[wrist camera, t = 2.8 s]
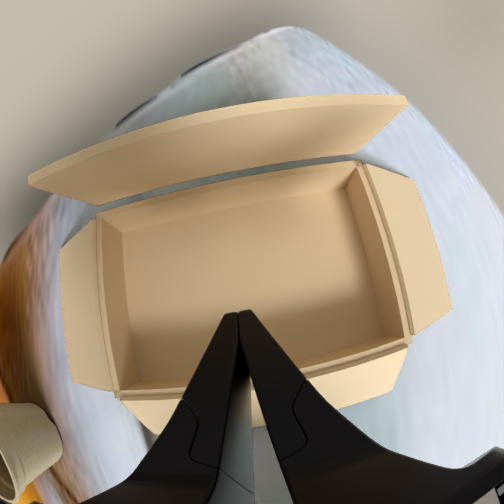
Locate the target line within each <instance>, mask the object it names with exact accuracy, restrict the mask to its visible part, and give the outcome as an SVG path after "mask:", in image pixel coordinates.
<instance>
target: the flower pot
mask: <svg viewBox="0 0 504 504" xmlns="http://www.w3.org/2000/svg"><path fill="white" fill-rule="evenodd" d="M62 454H63V446H62V441H61V438H60V435H59V433H58V430H57V428H56V426H55V425H54V424H53V423H52V422H51V421H50V420H49V419H48V417H47V415H46V413H45V411H43V410H42V409H41V408H40V407H38V406H37V405H35V404H32V403H0V497H1V498H2V499H4V500H5V501H7V502H9V503H16V502H18V501H19V499H20V494H21V493H23V492H24V490H25V488H26V486H27V485H28V484H29V483H30V482H32V481H33V480H34V479H35V478H37V477H38V476H39V475H40V474H41V473H43V472H44V471H45V470H46V469H48V468H49V467H50V466H52V465H53V464H54V463H55V462H57V461H58V460H59V459H60V457H61V456H62Z"/></svg>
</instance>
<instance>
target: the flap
mask: <svg viewBox="0 0 504 504" xmlns="http://www.w3.org/2000/svg"><path fill="white" fill-rule="evenodd" d="M407 106H408V103H407V101H406V98H405V96H401V95H380V94H338V95H317V96H303V97H292V98H282V99H273V100H266V101H258V102H252V103H245V104H239V105H234V106H228V107H223V108H218V109H213V110H208V111H203V112H199V113H195V114H190V115H186V116H182V117H178V118H175V119H171V120H167V121H164V122H160V123H157V124H153V125H150V126H147V127H143V128H140V129H137V130H134V131H131V132H128V133H125V134H122V135H119V136H116V137H114V138H111V139H108V140H106V141H103V142H100V143H98V144H95V145H93V146H90V147H88V148H85V149H83V150H81V151H78V152H76V153H74V154H71V155H69V156H67V157H65V158H62V159H60V160H58V161H56V162H54V163H52V164H50V165H48V166H46V167H44V168H42V169H40V170H38V171H36V172H34V173H32V174H30V175H29V176H28V186H31V187H35V188H38V189H41V190H45V191H48V192H52V193H55V194H59V195H62V196H66V197H69V198H73V199H76V200H79V201H83V202H86V203H90V204H93V205H97V206H99V205H102V204H105V203H109V202H112V201H115V200H119V199H122V198H125V197H129V196H132V195H136V194H139V193H143V192H147V191H150V190H154V189H158V188H162V187H166V186H170V185H174V184H178V183H182V182H186V181H191V180H195V179H199V178H204V177H208V176H213V175H218V174H223V173H227V172H232V171H238V170H243V169H248V168H254V167H259V166H265V165H271V164H277V163H284V162H290V161H297V160H304V159H312V158H319V157H327V156H336V155H346V154H355V153H356V152H357V151H358V150H360V149H361V148H362V147H363V146H364V145H365V144H366V143H367V142H368V141H370V140H371V139H372V138H373V137H374V136H375V135H376V134H377V133H378V132H380V131H381V130H382V129H383V128H384V127H385V126H386V125H387V124H388V123H390V122H391V121H392V120H393V119H394V118H395V117H396V116H397V115H398V114H400V113H401V112H402V111H403V110H404V109H405V108H406V107H407Z"/></svg>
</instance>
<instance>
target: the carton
mask: <svg viewBox="0 0 504 504" xmlns="http://www.w3.org/2000/svg"><path fill="white" fill-rule="evenodd" d="M60 292H61V307H62V319H63V328H64V336H65V343H66V350H67V356H68V362H69V368H70V373H71V378H72V382H75V383H78V384H82V385H86V386H89V387H93V388H97V389H101V390H106V391H114V396H115V398H120V401H121V402H122V403H123V404H124V405H125V406H126V408H127V409H128V410H129V411H130V412H131V413H132V414H133V415H134V416H135V417H137V418H138V419H139V420H140V421H141V422H142V423H143V424H144V425H145V426H146V427H147V428H148V429H149V430H150V431H151V432H153V433H154V434H161V432H162V431H163V429H164V428H165V426H166V425H167V423H168V421H169V420H170V418H171V416H172V414H173V412H174V411H175V409H176V407H177V405H178V403H179V401H180V399H182V395H183V393H184V392H185V390H186V388H187V386H188V384H189V382H190V380H191V378H192V376H193V374H194V372H195V370H196V368H197V366H198V364H199V362H200V360H201V358H202V356H203V355H204V353H205V351H206V349H207V347H208V345H209V343H210V341H211V339H212V337H213V335H214V333H215V331H216V329H217V327H218V325H219V323H220V321H221V319H222V317H223V315H224V314H226V313H230V312H237V313H238V312H239V311H241V310H247V309H251V310H252V311H253V312H254V313H255V315H256V316H257V317H258V318H259V320H260V321H261V322H262V324H263V325H264V326H265V327H266V329H267V330H268V331H269V332H270V334H271V335H272V336H273V337H274V339H275V340H276V341H277V342H278V344H279V345H280V346H281V347H282V349H283V350H284V351H285V352H286V354H287V355H288V356H289V357H290V359H291V360H292V361H293V362H294V363H295V365H296V366H297V367H298V368H299V370H300V371H301V372H302V373H303V374H304V376H305V377H306V379H307V380H309V381H310V383H311V384H312V385H313V386H314V387H315V389H316V390H317V391H318V392H319V393H320V394H321V395H322V396H323V397H324V398H325V399H326V401H328V402H329V403H330V404H331V405H332V406H333V407H334V408H335V409H340V408H343V407H347V406H350V405H353V404H356V403H359V402H362V401H365V400H368V399H371V398H374V397H377V396H379V395H382V394H385V393H387V392H390V391H392V388H393V386H394V384H395V381H396V379H397V376H398V374H399V371H400V369H401V366H402V364H403V361H404V358H405V356H406V353H407V350H408V346H407V345H409V344H411V343H413V342H412V336H411V335H415V334H417V333H419V332H420V331H422V330H423V329H425V328H426V327H428V326H429V325H431V324H432V323H434V322H435V321H437V320H438V319H440V318H441V317H443V316H444V315H446V314H447V313H448V312H450V311H451V310H452V305H451V300H450V295H449V291H448V286H447V282H446V277H445V273H444V269H443V265H442V261H441V258H440V254H439V251H438V247H437V244H436V240H435V237H434V234H433V231H432V228H431V225H430V222H429V219H428V216H427V213H426V210H425V208H424V205H423V202H422V200H421V197H420V195H419V192H418V189H417V187H416V185H415V182H414V180H413V179H410V178H408V177H405V176H402V175H399V174H396V173H393V172H391V171H388V170H385V169H382V168H379V167H375V166H372V165H369V164H364V165H363V164H362V162H361V160H354V161H345V162H336V163H328V164H320V165H313V166H305V167H299V168H292V169H286V170H279V171H273V172H267V173H262V174H256V175H251V176H245V177H240V178H235V179H230V180H225V181H220V182H215V183H210V184H206V185H201V186H197V187H192V188H188V189H184V190H180V191H175V192H171V193H167V194H163V195H159V196H155V197H152V198H148V199H144V200H140V201H137V202H133V203H129V204H126V205H122V206H119V207H116V208H112V209H109V210H105V211H102V212H99V213H96V219H92V220H90V221H89V222H88V223H87V224H86V225H85V226H84V227H83V228H82V229H81V230H80V231H79V232H78V233H77V234H76V235H74V236H73V237H72V238H71V239H70V240H69V241H68V242H67V243H66V244H65V245H64V246H63V247H62V248H61V249H60ZM250 379H251V377H250ZM251 409H252V428H254V427H260V426H266V424H265V421H264V418H263V415H262V412H261V409H260V405H259V402H258V399H257V396H256V393H255V390H254V387H253V383H252V380H251Z"/></svg>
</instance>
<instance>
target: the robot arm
mask: <svg viewBox="0 0 504 504" xmlns="http://www.w3.org/2000/svg"><path fill="white" fill-rule="evenodd" d="M250 377H251V379H250ZM251 380H252V383H253V387H254V390H255V393H256V396H257V399H258V402H259V405H260V409H261V412H262V415H263V418H264V421H265V424H266V427H267V430H268V433H269V436H270V439H271V442H272V445H273V448H274V450H275V453H276V456H277V459H278V462H279V465H280V468H281V470H282V473H283V476H284V479H285V482H286V484H287V487H288V490H289V493H290V495H291V498H292V501H293V504H504V449H502V448H499V447H494V448H492V449H490V450H489V451H487V452H486V453H484V454H483V455H481V456H480V457H478V458H477V459H475V460H474V461H472V462H471V463H469V464H467V465H466V466H464V467H463V468H458V469H451V468H445V467H441V466H437V465H434V464H430V463H427V462H424V461H420V460H417V459H414V458H411V457H408V456H405V455H402V454H399V453H396V452H393V451H391V450H388V449H386V448H385V447H383V446H381V445H379V444H378V443H376V442H375V441H374V440H372V439H371V438H370V437H368V436H367V435H366V434H365V433H363V432H362V431H361V430H360V429H358V428H357V427H356V426H355V425H354V424H352V423H351V422H350V421H349V420H348V419H346V418H345V417H344V416H343V415H342V414H341V413H339V412H338V411H337V410H336V409H335V408H334V407H333V406H332V405H331V404H330V403H329V402H328V401H326V399H325V398H324V397H323V396H322V395H321V394H320V393H319V392H318V391H317V390H316V389H315V387H314V386H313V385H312V384H311V383H310V381H309V380H307V379H306V377H305V376H304V374H303V373H302V372H301V371H300V370H299V368H298V367H297V366H296V365H295V363H294V362H293V361H292V360H291V359H290V357H289V356H288V355H287V354H286V352H285V351H284V350H283V349H282V347H281V346H280V345H279V344H278V342H277V341H276V340H275V339H274V337H273V336H272V335H271V334H270V332H269V331H268V330H267V329H266V327H265V326H264V325H263V324H262V322H261V321H260V320H259V318H258V317H257V316H256V315H255V313H254V312H253V311H252V310H251V309H247V310H241V311H239V312H238V313H237V312H230V313H226V314H224V315H223V317H222V319H221V321H220V323H219V325H218V327H217V329H216V331H215V333H214V335H213V337H212V339H211V341H210V343H209V345H208V347H207V349H206V351H205V353H204V355H203V356H202V358H201V360H200V362H199V364H198V366H197V368H196V370H195V372H194V374H193V376H192V378H191V380H190V382H189V384H188V386H187V388H186V390H185V392H184V393H183V395H182V399H180V401H179V403H178V405H177V407H176V409H175V411H174V412H173V414H172V416H171V418H170V420H169V421H168V423H167V425H166V426H165V428H164V429H163V431H162V432H161V434H160V435H159V437H158V438H157V440H156V441H155V443H154V444H153V445H152V447H151V448H150V450H149V451H148V453H147V454H146V455H145V457H144V458H143V460H142V461H141V462H140V464H139V465H138V467H137V468H136V469H135V470H134V472H133V473H132V474H131V475H130V476H129V477H128V478H127V479H125V480H124V481H123V482H121V483H120V484H118V485H116V486H114V487H112V488H110V489H108V490H106V491H104V492H103V493H100V494H98V495H96V496H94V497H92V498H90V499H88V500H86V501H84V502H81V503H79V504H255V499H254V495H253V494H254V472H253V441H252V409H251ZM0 504H12V503H9V502H7V501H5V500H3V499H1V498H0ZM30 504H42V503H39V502H36V501H33V502H32V503H30Z"/></svg>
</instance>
